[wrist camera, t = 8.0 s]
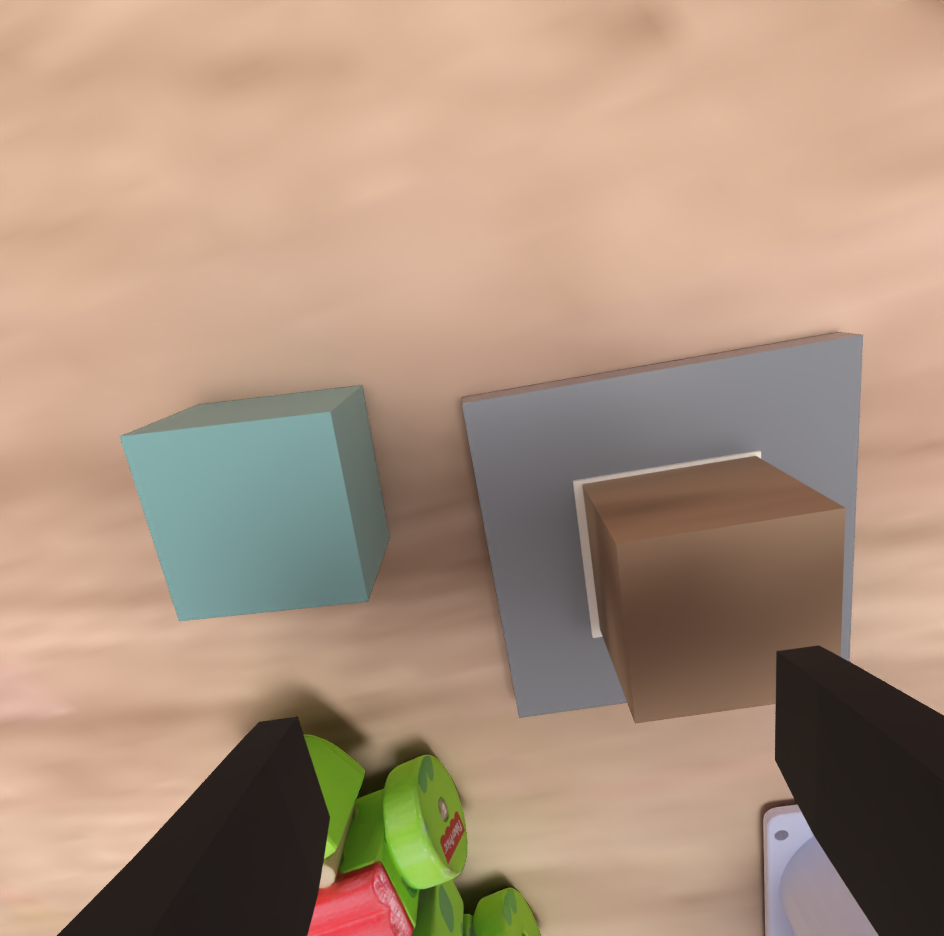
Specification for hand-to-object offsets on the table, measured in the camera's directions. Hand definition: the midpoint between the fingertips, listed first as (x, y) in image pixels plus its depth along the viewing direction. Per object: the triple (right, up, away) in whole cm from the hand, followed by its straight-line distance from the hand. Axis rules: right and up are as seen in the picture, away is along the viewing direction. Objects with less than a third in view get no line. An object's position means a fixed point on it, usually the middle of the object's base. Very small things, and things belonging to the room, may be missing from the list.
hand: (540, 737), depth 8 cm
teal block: (-6, +4, +9) cm, 12 cm away
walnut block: (+5, +2, +8) cm, 10 cm away
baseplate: (+5, +2, +9) cm, 11 cm away
